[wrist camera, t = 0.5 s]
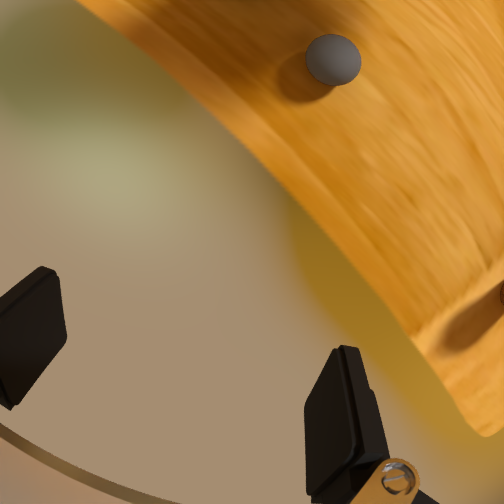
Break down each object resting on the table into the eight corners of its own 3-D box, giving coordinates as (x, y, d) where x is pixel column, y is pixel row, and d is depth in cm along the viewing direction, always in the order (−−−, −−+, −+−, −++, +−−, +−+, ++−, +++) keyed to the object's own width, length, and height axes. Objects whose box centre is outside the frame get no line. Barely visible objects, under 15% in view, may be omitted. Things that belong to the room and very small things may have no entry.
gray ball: (320, 32, 27) (327, 17, 22) (363, 61, 27) (378, 51, 22) (293, 69, 29) (296, 59, 24) (337, 98, 30) (348, 93, 24)
